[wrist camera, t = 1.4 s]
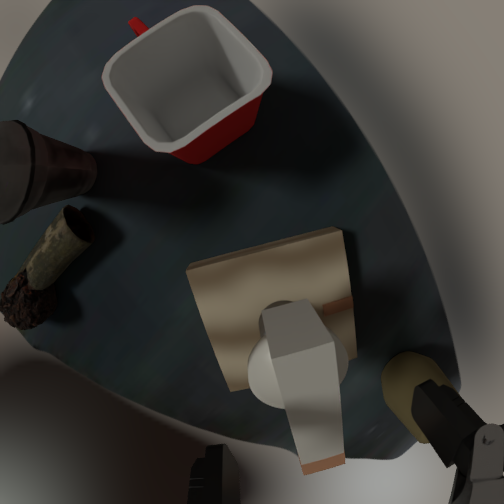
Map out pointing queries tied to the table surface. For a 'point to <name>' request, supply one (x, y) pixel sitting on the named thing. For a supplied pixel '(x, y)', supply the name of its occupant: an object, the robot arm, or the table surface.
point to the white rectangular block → (302, 380)
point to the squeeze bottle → (409, 385)
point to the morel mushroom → (45, 270)
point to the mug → (188, 83)
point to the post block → (271, 294)
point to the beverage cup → (39, 170)
